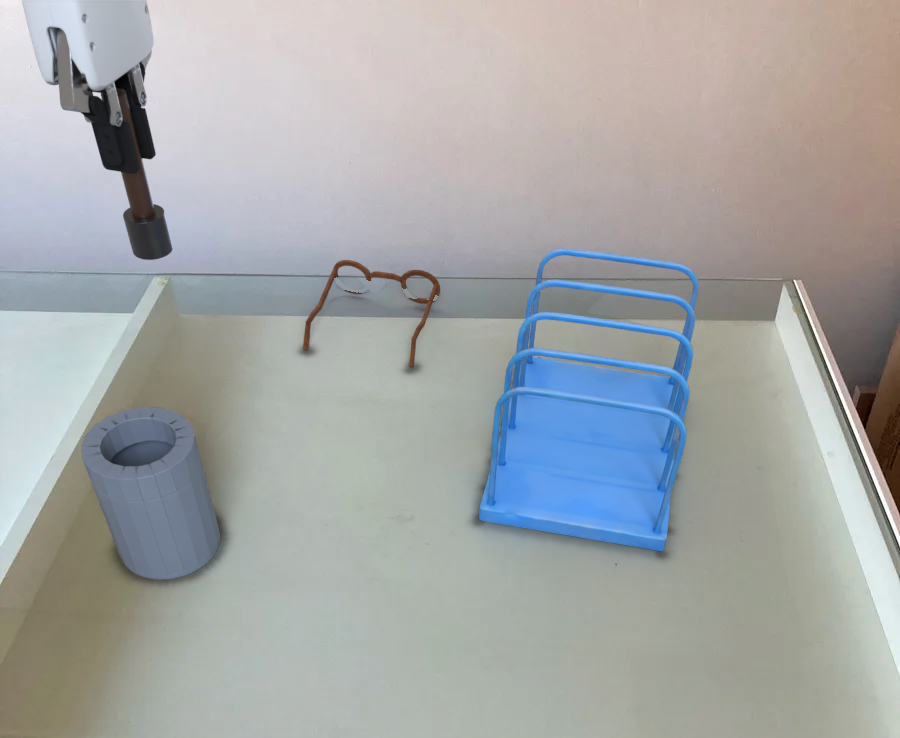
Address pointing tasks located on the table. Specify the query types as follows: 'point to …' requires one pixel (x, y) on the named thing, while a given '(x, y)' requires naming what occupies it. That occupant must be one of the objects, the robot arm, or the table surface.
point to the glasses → (368, 277)
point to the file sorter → (590, 428)
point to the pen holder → (152, 491)
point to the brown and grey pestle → (142, 204)
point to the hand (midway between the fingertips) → (130, 161)
